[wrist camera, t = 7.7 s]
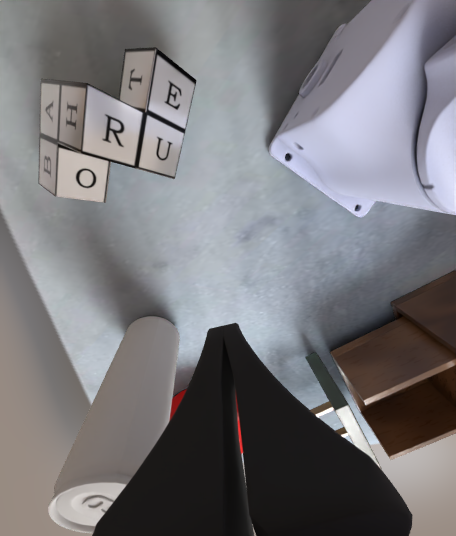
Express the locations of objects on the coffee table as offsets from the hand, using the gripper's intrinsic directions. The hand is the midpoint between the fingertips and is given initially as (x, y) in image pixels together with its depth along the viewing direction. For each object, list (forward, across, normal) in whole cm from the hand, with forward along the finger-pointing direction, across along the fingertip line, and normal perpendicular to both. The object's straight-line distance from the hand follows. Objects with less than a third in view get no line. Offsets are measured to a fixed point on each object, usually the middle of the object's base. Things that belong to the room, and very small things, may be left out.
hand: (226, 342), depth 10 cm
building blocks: (+7, +6, -6) cm, 11 cm away
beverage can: (+10, +7, +6) cm, 13 cm away
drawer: (+9, -12, +17) cm, 22 cm away
